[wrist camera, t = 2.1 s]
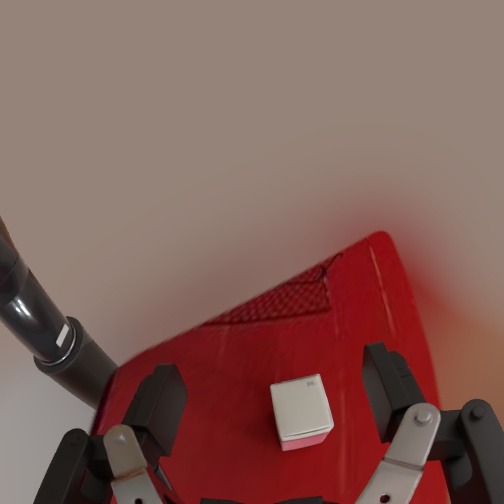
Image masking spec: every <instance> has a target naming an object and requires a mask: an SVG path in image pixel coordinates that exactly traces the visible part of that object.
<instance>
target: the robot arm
mask: <svg viewBox="0 0 504 504" xmlns="http://www.w3.org/2000/svg"><path fill="white" fill-rule="evenodd" d="M0 321H1V323H2V324H3V325H4V326H5V327H6V328H7V329H8V330H9V331H10V332H11V333H12V334H13V335H14V336H15V337H16V338H17V339H18V340H19V341H20V342H21V343H22V344H23V345H24V346H25V347H26V348H27V349H28V350H29V351H30V352H31V353H32V354H33V355H34V356H35V357H36V358H37V359H38V360H39V361H40V362H41V363H42V364H43V365H45V366H48V367H54V366H57V365H59V364H61V363H63V362H64V361H65V360H66V359H67V358H68V357H69V356H70V354H71V353H72V351H73V349H74V347H75V345H76V341H77V332H76V329H75V327H74V326H73V324H72V323H71V322H70V321H68V319H67V318H66V317H65V316H64V315H63V313H62V312H61V311H60V309H59V308H58V307H57V306H56V304H55V303H54V302H53V301H52V299H51V298H50V297H49V296H48V294H47V293H46V292H45V290H44V289H43V287H42V286H41V285H40V283H39V282H38V281H37V279H36V278H35V276H34V275H33V274H32V272H31V271H30V269H29V268H28V266H27V265H26V263H25V262H24V260H23V259H22V257H21V256H20V254H19V252H18V251H17V249H16V248H15V246H14V244H13V242H12V240H11V238H10V235H9V233H8V231H7V229H6V226H5V224H4V223H3V221H2V219H1V217H0ZM362 379H363V384H364V387H365V390H366V393H367V396H368V400H369V403H370V406H371V409H372V413H373V416H374V419H375V423H376V426H377V429H378V433H379V436H380V440H381V444H383V443H386V442H390V447H389V449H388V451H387V452H386V454H385V456H384V458H383V459H382V460H381V462H380V464H379V465H378V467H377V469H376V471H375V472H374V474H373V476H372V477H371V479H370V481H369V482H368V484H367V485H366V487H365V489H364V490H363V492H362V493H361V495H360V496H359V498H358V499H357V501H356V502H355V504H408V503H409V501H410V499H411V497H412V495H413V493H414V491H415V489H416V487H417V485H418V483H419V481H420V479H421V476H422V474H423V471H424V469H423V467H424V464H425V462H426V461H435V460H440V462H441V465H442V469H443V472H444V476H445V480H446V484H447V487H448V492H449V496H450V500H451V504H504V432H503V430H502V428H501V426H500V423H499V421H498V419H497V417H496V415H495V414H494V411H493V409H492V408H491V406H490V405H489V403H487V402H486V401H484V400H480V399H473V400H470V401H469V402H467V403H466V404H465V405H464V406H463V408H462V410H450V411H441V410H438V409H437V408H436V407H435V406H433V405H431V404H428V403H427V402H426V400H425V398H424V396H423V394H422V392H421V390H420V388H419V386H418V384H417V382H416V380H415V378H414V376H413V375H412V372H411V370H410V368H409V367H408V364H407V362H406V360H405V358H404V357H403V356H402V355H400V354H399V353H398V352H397V351H391V352H388V351H387V349H386V347H385V345H384V343H383V342H382V341H380V342H376V343H371V344H366V345H365V346H364V353H363V365H362ZM133 398H134V399H133V400H132V402H131V404H130V406H129V408H128V410H127V412H126V414H125V417H124V419H123V421H122V423H121V425H116V426H113V427H111V428H110V429H109V430H108V431H107V432H106V433H105V435H97V436H88V434H87V433H86V432H85V431H84V430H82V429H78V428H76V429H72V430H70V431H68V432H67V433H66V434H65V435H64V437H63V438H62V441H61V442H60V445H59V447H58V449H57V451H56V453H55V455H54V457H53V459H52V461H51V463H50V465H49V468H48V470H47V473H46V474H45V477H44V479H43V481H42V484H41V486H40V488H39V490H38V493H37V495H36V498H35V500H34V503H33V504H110V502H111V499H112V495H113V492H114V495H115V497H116V500H117V502H118V504H185V503H184V502H183V501H182V500H181V498H180V497H179V496H178V494H177V493H176V491H175V490H174V488H173V486H172V484H171V483H170V481H169V479H168V477H167V475H166V473H165V472H164V470H163V468H162V466H161V464H160V462H159V459H160V456H167V457H170V455H171V451H172V448H173V444H174V441H175V438H176V434H177V431H178V427H179V424H180V421H181V417H182V414H183V411H184V407H185V404H186V401H187V389H186V386H185V384H184V382H183V379H182V377H181V375H180V373H179V370H178V368H177V366H176V365H175V364H158V365H157V366H156V368H155V370H154V372H153V374H152V375H148V376H147V377H146V378H145V379H144V380H143V381H142V382H141V383H140V385H139V387H138V389H137V393H135V395H134V397H133ZM85 469H86V470H87V473H86V476H85V479H84V481H83V484H82V487H81V490H80V489H79V485H80V482H81V479H82V476H83V474H84V471H85ZM200 504H243V503H239V502H235V501H231V500H220V499H207V498H201V502H200ZM275 504H338V503H334V502H327V501H322V496H316V497H308V498H298V499H290V500H286V501H283V502H279V503H275Z"/></svg>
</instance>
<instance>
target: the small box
mask: <svg viewBox="0 0 504 504" xmlns="http://www.w3.org/2000/svg"><path fill="white" fill-rule="evenodd" d="M270 388H271V395H272V402H273V408H274V415H275V421H276V426H277V431H278V435H279V440H280V444H281V448H282V450H283V451H286V450H292V449H297V448H302V447H306V446H310V445H314V444H318V443H321V442H323V440H324V439H325V437H326V436H327V434H328V433H329V432H330V430H331V429H332V427H333V425H334V424H333V420H332V415H331V412H330V408H329V405H328V401H327V397H326V394H325V391H324V388H323V384H322V381H321V378H320V375H319V374H316V375H312V376H307V377H303V378H298V379H294V380H290V381H286V382H282V383H277V384H273V385H271V386H270Z"/></svg>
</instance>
